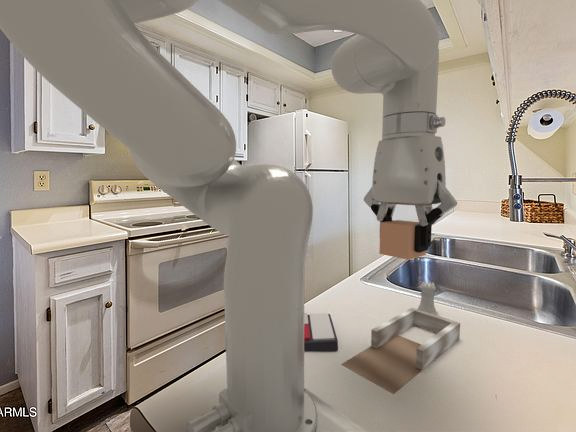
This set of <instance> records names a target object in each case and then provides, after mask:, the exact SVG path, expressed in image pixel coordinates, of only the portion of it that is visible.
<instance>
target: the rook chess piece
mask: <svg viewBox="0 0 576 432" xmlns="http://www.w3.org/2000/svg"><path fill="white" fill-rule="evenodd" d="M419 288H420V290H421V292H420V295H421V297H420V303H419V305H418V307H417V308H416V309H418V310H421V311H424V312H428V313H431V314H434V315H437V316H438V311H437V309H436V306H435V300H434V299H435V298H434V297H435V295H436V294H435V293H434V292H435V291H436V289H437V287H436V286H435V282H431V281H430V280H429V281H428V282H427V280H426V281H422V282H421V284H420V286H419Z"/></svg>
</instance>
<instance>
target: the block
mask: <svg viewBox="0 0 576 432" xmlns="http://www.w3.org/2000/svg"><path fill="white" fill-rule="evenodd" d="M393 220H394V219H393ZM418 225H419V221H412V220H402V219H395V220H394V221H387V222H380V221H379V254H380V255H383V256H389V257H394V258H399V259H403V260H408V261H410V260H413V259H417V258H419V257H423V256H425V255H427V250H426V251H423V252H420V253H418V252H415V251H414V243H415V227H416V226H418Z"/></svg>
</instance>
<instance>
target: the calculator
mask: <svg viewBox="0 0 576 432" xmlns="http://www.w3.org/2000/svg"><path fill="white" fill-rule="evenodd" d="M338 341H339V339H338V337H337V334H336V330H335V326H334V323H333V320H332V316H331V314H330V313H327V312H320V313H309V314H308V312H304V352H338V351H339V343H338Z"/></svg>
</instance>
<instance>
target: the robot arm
mask: <svg viewBox="0 0 576 432" xmlns="http://www.w3.org/2000/svg"><path fill="white" fill-rule="evenodd" d="M198 1H199V0H0V30H1V31H2V33H3V34H4V35H5V36H6V38H7V39H8V40H9V42H10V43H11V44H12V46H13V47H14V48H15V50H16V51H18V52H19V54H20V55H21V56H22V57H23V58H24V59H25V60H26V61H27V63H28V64H30V65H31V66H32V68H34V70H35V71H36V72H38V73H39V74H40V75H41V76H42V77H43V78H44V79H45V80H46V81H47V82H48V83H50V84H51V85H52V86H53V87H54V88H55V89H56V90H58V91H59V92H60V93H61V94H62V95H63V96H65V97H66V98H67V99H68V100H69V101H70V102H72V103H73V104H74V105H75V106H76V107H78V108H79V109H80V110H81V111H82V112H83V113H85V114H86V115H87V116H88V117H90V119H91V120H93V121H94V122H95V123H96V124H98V125H99V126H100V127H101V128H103V129H104V131H107V133H108V134H110V135H111V136H113V137H114V138H115V139H116V140H118V141H119V142H120V143H121V144H122V145H123V146H124V147H126V148H127V149H128V150H129V151H130V155H131V158H132V160H133V163H134V164H135V165H136V166H135V167H136V168H137V169H138V170H139V171H140V172H141V174H143V176H144V177H145V178H146V179H148V180H149V181H150V182H151V183H153V184H154V185H155V186H156V187H157V188H158V189H160V190H161V191H162V192H164V193H166V194H167V196H169V197H170V198H172V199H173V200H175V202H177V203H178V204H180V205H181V206H182V207H184V208H185V209H187V210H188V211H190V213H192V214H193V215H194V216H196V217H197V218H199V219H200V220H201V221H202V222H204V223H205V224H207V225H208V226H209V227H211V228H212V229H214V230H215V231H217V232H218V233H220V234H222V235H225V236H227V237H228V242H227V243H228V244H227V251H226V256H225V258H226V259H225V264H224V273H223V303H224V304H223V305H224V329H225V330H224V332H225V361H226V362H225V365H226V388H225V389H223V390H222V391H219V392H218V401H219V402H218V403H216V404H214V405H213V406H212V410H211V411H208V412H207V413H205V414H204V413H203V414H201V415H199V416H197V417H196V418H193V419H191V420H189V421H188V422H187V431H188V432H316V428H317V424H318V423H317V421H318V418H317V417H318V413H317V408H316V404H315V402H314V401H313V399H312V397H311V396H310V395H309V393H307V392H306V391H305V351H304V313H305V276H306V275H305V274H306V273H305V272H306V258H307V251H308V244H309V239H310V234H311V229H312V225H313V214H314V212H313V211H314V209H313V208H314V207H313V200H312V199H313V198H312V196H311V193H310V190H309V188H308V187H307V185H306V183H305V181H303V180H302V178H301V177H300V176H298V174H296V173H295V172H293V171H292V170H290V169H288V168H285V167H283V166H279V165H275V164H255V165H253V164H252V165H245V166H243V165H242V164H240V162H238V161H237V160H236V159H235V157H236V153H237V139H236V135H235V132H234V129H233V126H232V125H231V123H230V121H229V120H228V119H227V117H226V116H225V115H224V114H223V113H222V112H221V110H219V109H218V107H216V105H214V104H213V103H212V102H211V101H210V100H209V99H208V98H207V97H206V96H205V95H204V94H203V93H202V92H201V91H200V90H199V89H198V88H197V87H196V86H195V85H194V84H193V83H192V82H191V81H189V79H187V77H185V76H184V74H182V73H181V72H180V71H179V70H178V69H177V68H176V67H175V66H174V65H173V64H172V63H171V62H170V61H169V60H168V59H166V57H165V56H164V55H163V54H162V53H160V52H159V50H158V49H157V48H156V47H155V46H154V44H152V42H151V41H150V40H149V39H148V38H147V37H146V36H145V35H144V34H143V33H142V32H141V30H140V29H139V28H138V26H136V25H135V24H138V23H144V22H148V21H152V20H156V19H160V18H166V17H170V16H173V15H174V14H178V13H181V12H183V11H186V10H188V9H190V8H192V7H193V6H194V5H195V4H196V3H197V2H198ZM218 1H219V2H220V3H221V4H223V5H225V6H226V7H227V8H230V9H231V10H233V11H234V12H235V13H236V14H237V13H238V14H239V15H241V16H242V17H244V18H245V19H247V20H248V21H250V22H251V23H253V24H254V25H256V26H258V28H260V29H262V30H264V31H265V32H266V33H269V34H274V35H293V34H302V33H310V32H315V31H317V32H318V31H329V30H330V31H342V32H347V33H350V34H351V33H353V34H355V35H354V36H351V37H350V38H348V39H347V40H345V41H344V42H343V43H342V44H341V45H339V47H338V48H337V49H336V51H335V52H334V54H333V55H332V60H331V63H330V66H331V67H330V68H331V74H332V78H333V79H334V81H335V82H336V84H337V85H338V86H339V87H340V88H341V89H343V90H344V91H347V92H348V93H352V94H357V95H359V94H362V95H363V94H381V95H382V98H383V100H382V125H381V126H382V128H381V129H382V130H381V140H378V142H377V147H376V151H375V157H374V162H373V163H374V164H373V171H372V181H371V183H372V184H371V185H372V186H371V188H370V189H369V190H368V192H366V194H365V196H364V197H363V202H364V203H365V204H366V205H367V206H368V207H369V208H370V209H371V211H372V212H373V214H374V215H375V217H376V220H377V222H379V223H380V222H387V221H394V219H393V216H394V213H395V210H396V206H397V205H400V206H401V205H402V206H403V205H404V206H414V207H415V211H416V216H417V219H418V222H419V225H418V226H416V227H415V243H414V251H415V252H418V253H420V252H423V251H426V252H427V251H428V250H429V248H430V246H431V245H432V229H433V227H432V226H433V225H434V224H436V222H437V221H438V220H439V219H440V218H441V217H443V216H444V215H445V214H446V213H448V212H450V211H451V210H453V209H454V208H455V207H456V206H457V205H458V202H457V200H456V199H455V197H454V196H453V195H452V194H451V192H450V191H449V190H448V188H447V182H446V178H447V177H446V161H445V152H444V145H443V139H442V137H441V136H437V135H436V134H437V133H438V129H440V128H443V127H445V126H446V118H445V116H440V117H439V116H438V114H437V105H438V104H437V102H438V85H439V81H438V80H439V61H440V56H439V55H440V48H439V45H440V36H439V35H440V34H439V28H438V26H437V23H436V20H435V19H434V17H433V14H432V13H431V12H430V10H429V9H428V8H427V6H426V5H425V4H424V3H423V1H422V0H218ZM437 204H439V205H437ZM433 205H437V206H436V207H434V208H433ZM213 429H214V430H213ZM212 430H213V431H212Z"/></svg>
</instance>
